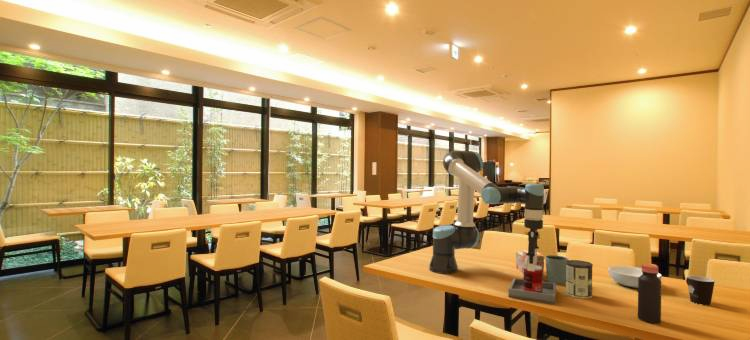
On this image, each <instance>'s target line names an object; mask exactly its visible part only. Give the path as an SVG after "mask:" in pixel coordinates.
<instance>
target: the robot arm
mask: <svg viewBox="0 0 750 340" xmlns="http://www.w3.org/2000/svg"><path fill="white" fill-rule="evenodd" d="M442 166H443V168H444V170H445V171H446V172H447V173H448V174H449V175H451V176H455V177H457V178H458V191H457V192H458V194H457V213H456V215H457V217H456V218H457V219H456V221H455V222H454V223H453V225H450V224H449V225H440V226H436V227H434V228H433V230H432V257H431V259H430V263H429V267H428V268H429V270H430V271H431V272H434V273H438V274H455V273H457V272H458V269H459V266H458V264H457V259H456V257H455V255H456V253H455V251H456V250H461V249H462V250H463V249H470V248H475V247H476V246H477V245H478V243H479V242H480V232H479V229H478V228H477V227H476V224H475V222H474V210H475V209H474V206H475V205H474V204H475V192H477V193H478V194H479V195H480V197H481V199H482V202H483V203H484V204H487V205H498V204H499V205H500V204H523V205H524V223H523V226H524V228H526V229H529V231H528V233H527V234H528V235H527V237H528V238H527V240H528V246H527V247H528V249H527V250H528V253H526V255H528V271H535V264H537V252H538V250H540V249H539V247H540V246H538V240H539V231H538V230H541V229H543V228H544V220H543V219H544V215H545V214H546V213H545V211H544V203H545V202H544V200H545V188H544V184H541V183H526V184H525V186H524V187H521V186H516V185H515V186H514V185H507V186H498V185H496V184H495V183H493V182H492V181H491V180H489V179H488V178H486V177H484V176H483V175H481V174H480V173H479V172H481V171H482V169H483V167H484V159H483V157H482V156H481V154H480V153H479V152H477V151H474V150H473V151H472V150H451V151H449V152H447V153H446V154H445V156H444V157H443V160H442Z"/></svg>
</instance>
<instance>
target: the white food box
mask: <svg viewBox="0 0 750 340" xmlns="http://www.w3.org/2000/svg"><path fill="white" fill-rule="evenodd" d="M526 253H528V249H522V251H516V253H515V254H516V255H515V257H516V259H515V261H516V263H515V264H516V265H515V266H516V267H515V268H516V269H517V270H518V271H519V272H521V273H522V274H523V269H524V265H528V255H526ZM535 265H538V266H541V267H542V271H543V274H542V281H544V275H545V274H544V271H545V270H544V268H545V256H544V255H543V254H542V253H540V252H538V251H537V264H535Z"/></svg>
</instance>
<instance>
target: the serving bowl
mask: <svg viewBox="0 0 750 340" xmlns="http://www.w3.org/2000/svg"><path fill="white" fill-rule="evenodd" d="M607 269H608V274H609V276H610V278H612V279H613V281H615V282H616V283H618V284H621V285H623V286H627V287H629V288H633V289H634V288H635V289H638V278H639V277H640V276H641V275H642V274H643V272H642V267H636V266H629V265H627V266H626V265H625V266H624V265H612V266H609V267H608V268H607ZM657 277H658V278H659V279H660V280H661V281H662V274H661V273H659V272H658V274H657Z"/></svg>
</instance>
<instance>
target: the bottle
mask: <svg viewBox="0 0 750 340" xmlns="http://www.w3.org/2000/svg"><path fill="white" fill-rule="evenodd" d="M641 268H642V272H643V274H642V275H641V276H640V277H639V278H638V288H637V318H638V319H639V320H640V321H641V322H644V321H645V322H646V323H649V324H654V323H657V324H660V323H661V322H662V279H661V280H660V279H659V278H658V277H657V274H658V273H659V266H658V265H654V264H651V263H650V264H649V263H642V264H641Z"/></svg>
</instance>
